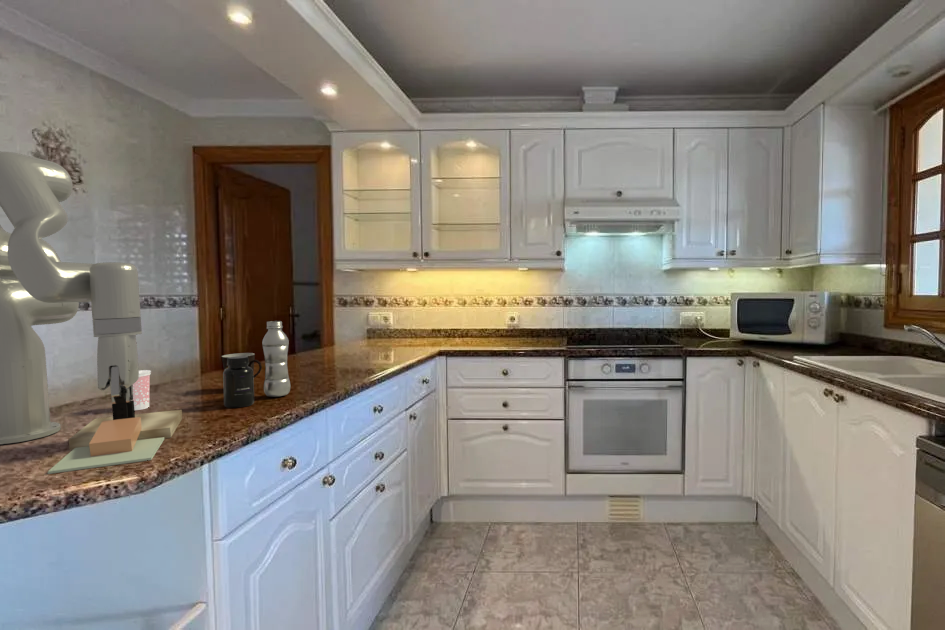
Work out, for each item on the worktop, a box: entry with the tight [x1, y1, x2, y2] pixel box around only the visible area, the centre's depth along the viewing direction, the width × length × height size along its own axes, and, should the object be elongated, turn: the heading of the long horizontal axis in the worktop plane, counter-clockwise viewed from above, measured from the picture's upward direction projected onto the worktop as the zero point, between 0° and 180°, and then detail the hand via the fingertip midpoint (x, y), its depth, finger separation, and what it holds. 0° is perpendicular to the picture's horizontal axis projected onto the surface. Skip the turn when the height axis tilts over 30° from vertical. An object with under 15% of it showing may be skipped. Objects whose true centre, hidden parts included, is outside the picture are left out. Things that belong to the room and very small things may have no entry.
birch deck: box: [68, 409, 183, 451], centre depth 101 cm, size 16×16×2 cm
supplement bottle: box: [222, 356, 255, 409], centre depth 123 cm, size 7×7×12 cm
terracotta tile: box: [89, 417, 142, 456], centre depth 91 cm, size 6×9×2 cm, turn 24°
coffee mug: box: [221, 352, 263, 379], centre depth 142 cm, size 12×9×10 cm
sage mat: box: [47, 437, 165, 475], centre depth 88 cm, size 14×13×1 cm
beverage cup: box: [131, 369, 152, 411], centre depth 123 cm, size 6×6×14 cm
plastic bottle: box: [261, 320, 291, 398], centre depth 132 cm, size 6×7×20 cm
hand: (124, 422), depth 96 cm, fingers closed
